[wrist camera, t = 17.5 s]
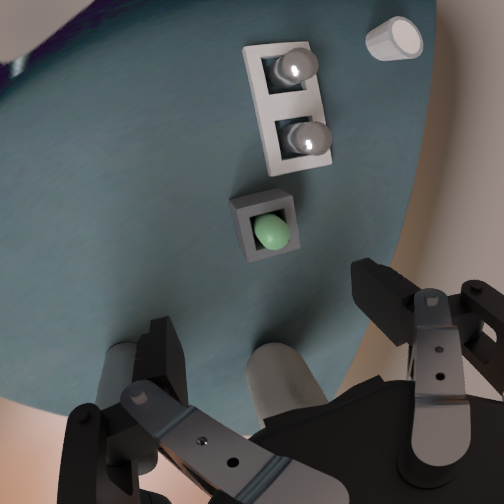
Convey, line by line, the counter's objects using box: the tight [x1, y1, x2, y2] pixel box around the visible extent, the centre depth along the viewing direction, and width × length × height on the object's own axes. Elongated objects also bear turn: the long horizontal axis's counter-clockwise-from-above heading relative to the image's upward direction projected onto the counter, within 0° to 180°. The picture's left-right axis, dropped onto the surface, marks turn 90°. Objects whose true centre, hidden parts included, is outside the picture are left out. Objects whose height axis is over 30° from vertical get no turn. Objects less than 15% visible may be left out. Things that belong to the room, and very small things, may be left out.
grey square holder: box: [229, 188, 301, 263], centre depth 40 cm, size 7×7×6 cm
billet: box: [279, 121, 332, 156], centre depth 36 cm, size 4×4×8 cm
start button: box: [250, 212, 290, 250], centre depth 38 cm, size 4×4×6 cm
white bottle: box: [246, 343, 329, 429], centre depth 39 cm, size 10×10×28 cm
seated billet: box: [266, 47, 319, 89], centre depth 33 cm, size 4×4×8 cm
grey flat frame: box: [242, 41, 332, 177], centre depth 38 cm, size 18×9×2 cm, turn 11°
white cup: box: [366, 16, 423, 61], centre depth 34 cm, size 7×7×7 cm
